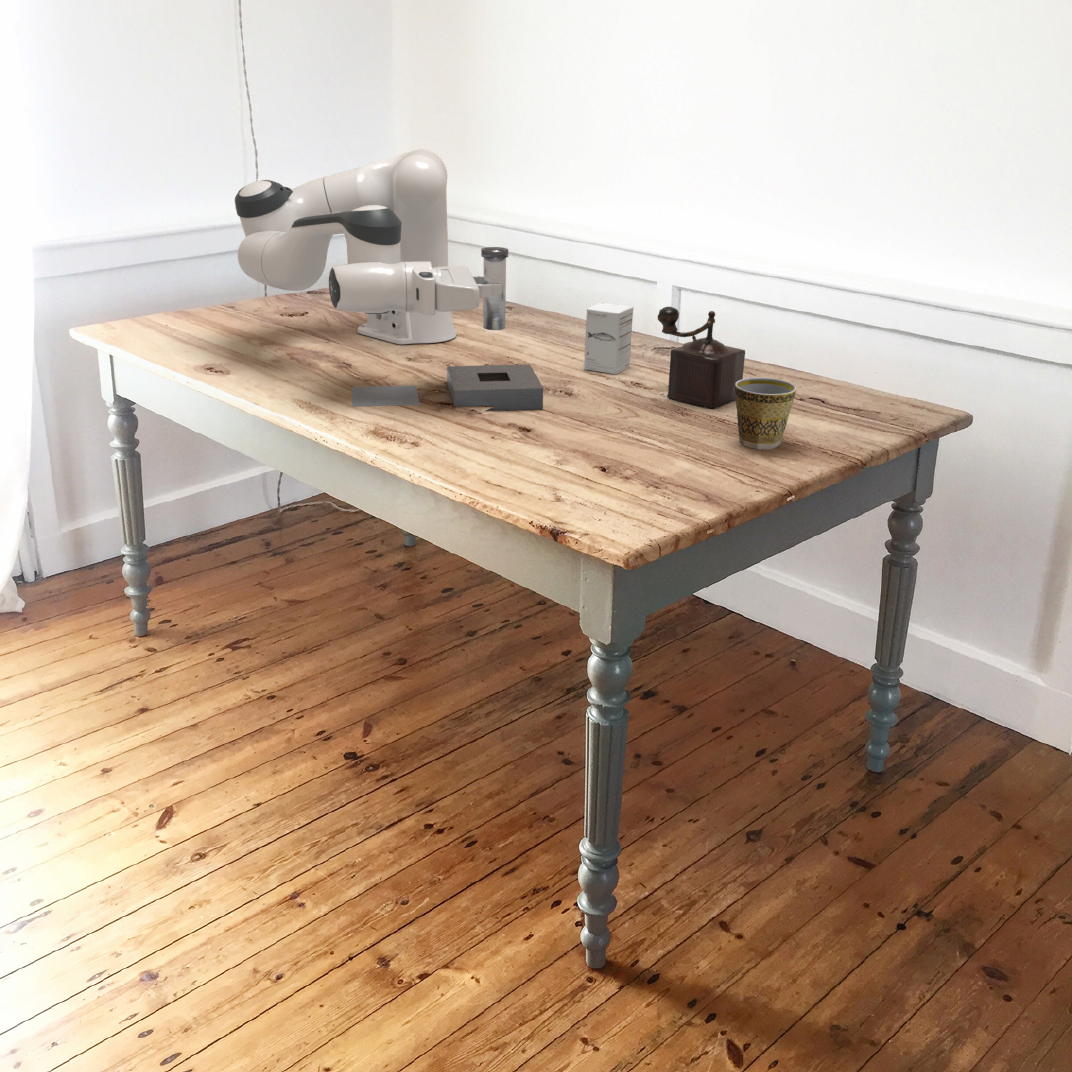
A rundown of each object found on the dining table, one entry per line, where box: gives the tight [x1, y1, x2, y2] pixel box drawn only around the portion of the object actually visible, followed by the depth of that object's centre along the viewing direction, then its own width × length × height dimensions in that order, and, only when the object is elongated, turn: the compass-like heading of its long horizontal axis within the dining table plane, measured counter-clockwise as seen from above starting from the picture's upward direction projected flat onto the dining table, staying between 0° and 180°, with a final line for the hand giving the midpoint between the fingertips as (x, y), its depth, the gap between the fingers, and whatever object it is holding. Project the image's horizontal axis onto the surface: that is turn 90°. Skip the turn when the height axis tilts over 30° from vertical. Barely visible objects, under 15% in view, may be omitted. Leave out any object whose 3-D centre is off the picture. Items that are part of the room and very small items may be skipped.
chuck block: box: [446, 363, 544, 412], centre depth 213 cm, size 16×16×4 cm
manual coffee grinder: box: [657, 306, 746, 410], centre depth 211 cm, size 16×11×18 cm
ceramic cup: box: [734, 377, 797, 451], centre depth 192 cm, size 13×10×10 cm
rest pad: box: [351, 385, 421, 408], centre depth 211 cm, size 12×12×1 cm
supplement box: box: [583, 302, 634, 376], centre depth 231 cm, size 7×7×13 cm
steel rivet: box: [480, 246, 509, 331], centre depth 206 cm, size 5×5×14 cm
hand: (499, 285), depth 206 cm, fingers closed on steel rivet, 4 cm apart
